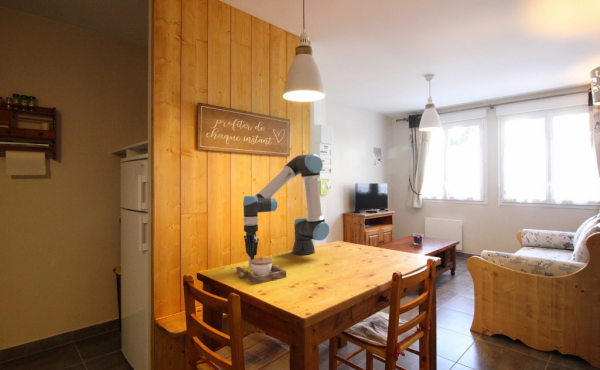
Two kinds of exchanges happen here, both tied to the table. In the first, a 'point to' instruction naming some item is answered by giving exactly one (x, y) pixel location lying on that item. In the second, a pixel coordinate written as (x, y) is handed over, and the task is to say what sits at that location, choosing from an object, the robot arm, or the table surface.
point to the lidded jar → (261, 266)
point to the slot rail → (262, 278)
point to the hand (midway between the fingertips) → (251, 267)
